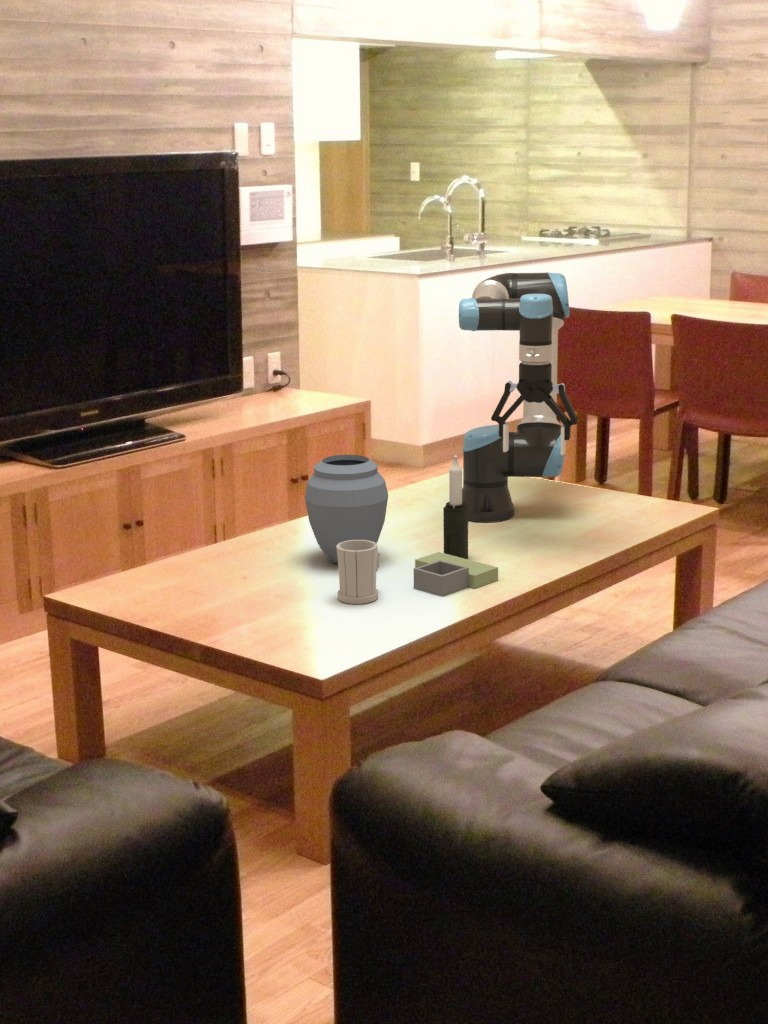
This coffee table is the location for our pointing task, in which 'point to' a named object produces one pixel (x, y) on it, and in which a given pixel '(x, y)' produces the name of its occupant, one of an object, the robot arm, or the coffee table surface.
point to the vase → (345, 501)
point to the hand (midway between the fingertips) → (534, 452)
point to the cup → (357, 571)
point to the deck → (451, 574)
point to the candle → (455, 516)
